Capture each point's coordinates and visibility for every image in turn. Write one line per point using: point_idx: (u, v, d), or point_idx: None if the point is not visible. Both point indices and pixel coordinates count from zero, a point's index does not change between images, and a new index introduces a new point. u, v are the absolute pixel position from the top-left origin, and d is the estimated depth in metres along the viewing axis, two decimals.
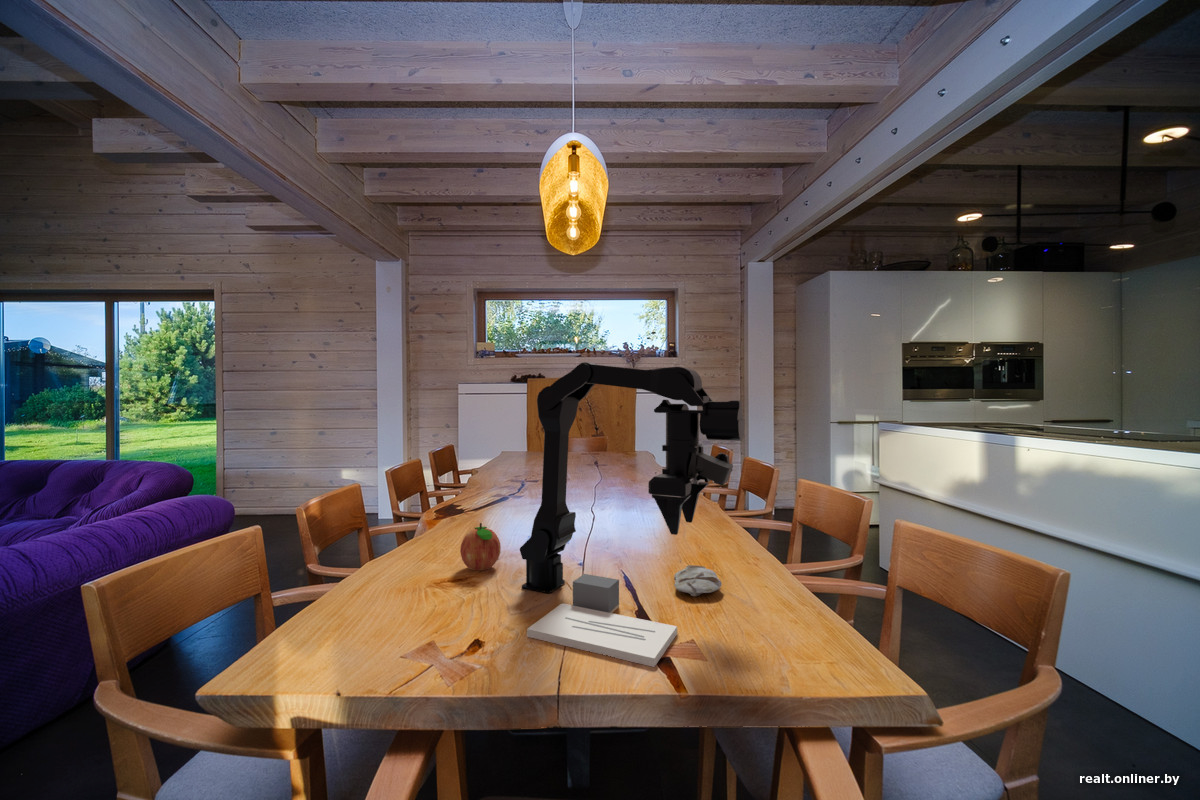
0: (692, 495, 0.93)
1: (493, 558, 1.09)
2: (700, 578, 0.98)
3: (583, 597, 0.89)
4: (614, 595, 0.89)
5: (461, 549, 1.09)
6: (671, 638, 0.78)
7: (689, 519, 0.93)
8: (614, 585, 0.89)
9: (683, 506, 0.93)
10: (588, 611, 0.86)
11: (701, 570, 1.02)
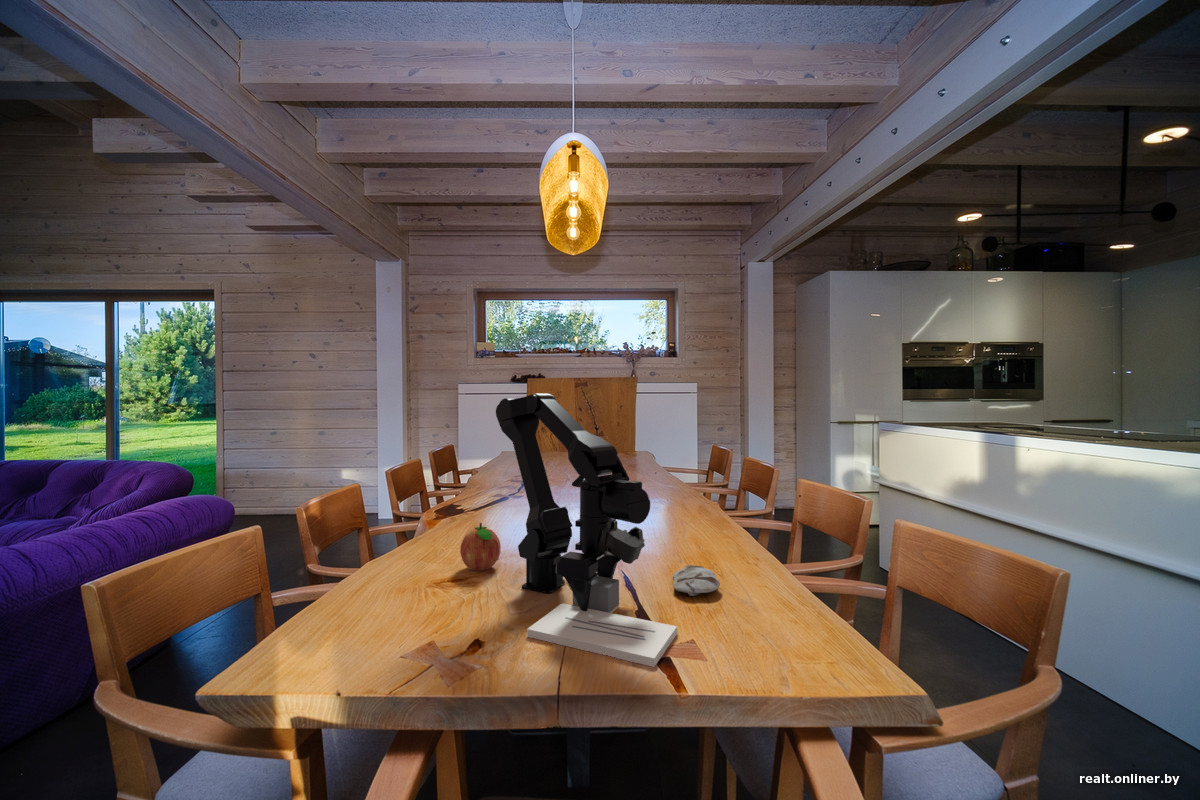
0: (608, 567, 0.94)
1: (493, 558, 1.09)
2: (698, 578, 0.98)
3: None
4: (614, 595, 0.89)
5: (461, 549, 1.09)
6: (671, 638, 0.78)
7: None
8: (614, 585, 0.89)
9: None
10: (588, 611, 0.86)
11: (700, 570, 1.02)
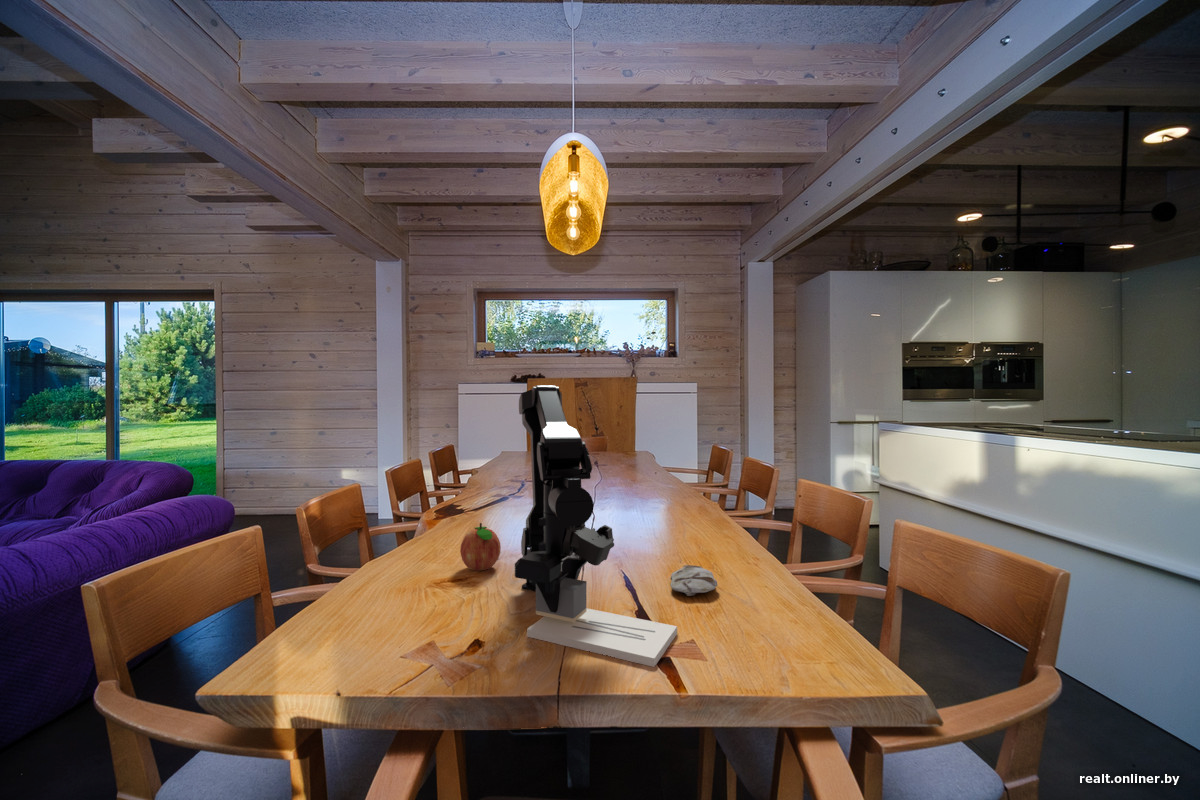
0: (572, 571, 0.85)
1: (493, 558, 1.09)
2: (696, 578, 0.98)
3: None
4: (580, 598, 0.82)
5: (461, 549, 1.09)
6: (671, 638, 0.78)
7: None
8: (580, 587, 0.82)
9: None
10: (588, 611, 0.86)
11: (698, 570, 1.03)
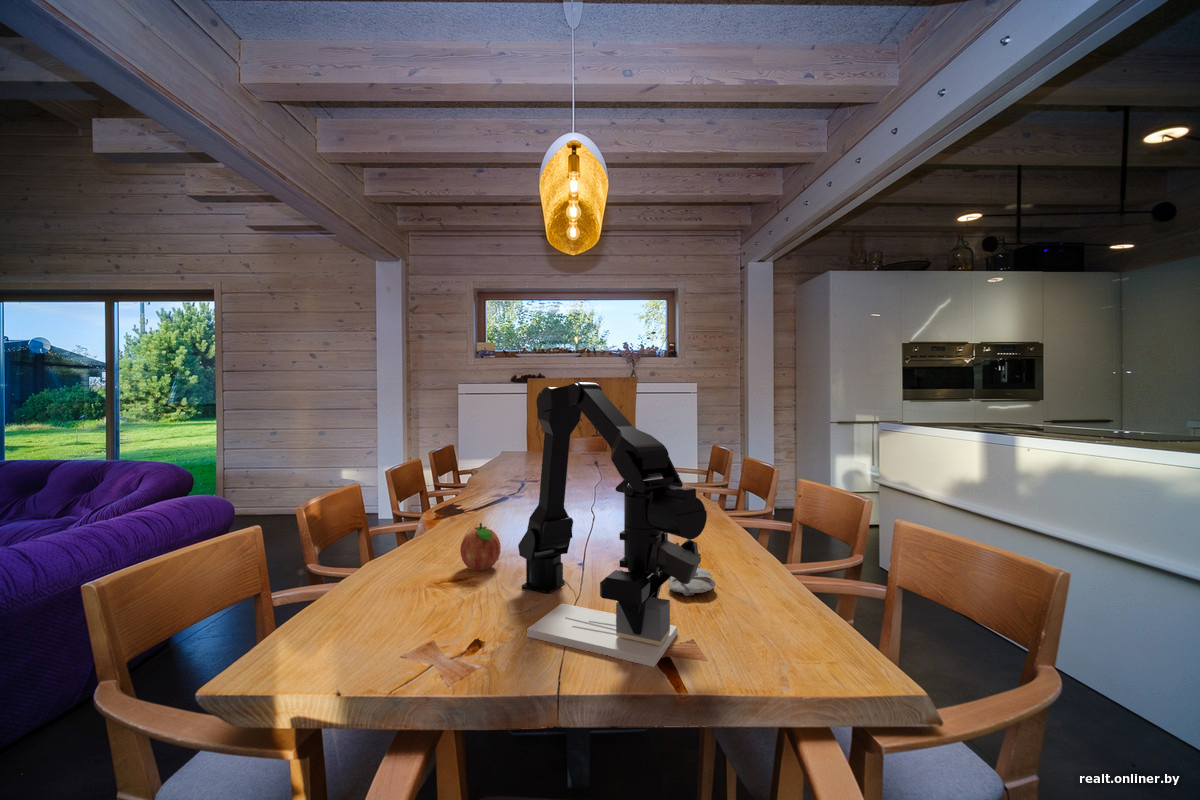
0: (652, 589, 0.79)
1: (493, 558, 1.09)
2: (694, 578, 0.98)
3: None
4: (665, 619, 0.76)
5: (461, 549, 1.09)
6: (671, 638, 0.78)
7: None
8: (665, 607, 0.76)
9: None
10: (588, 611, 0.86)
11: None
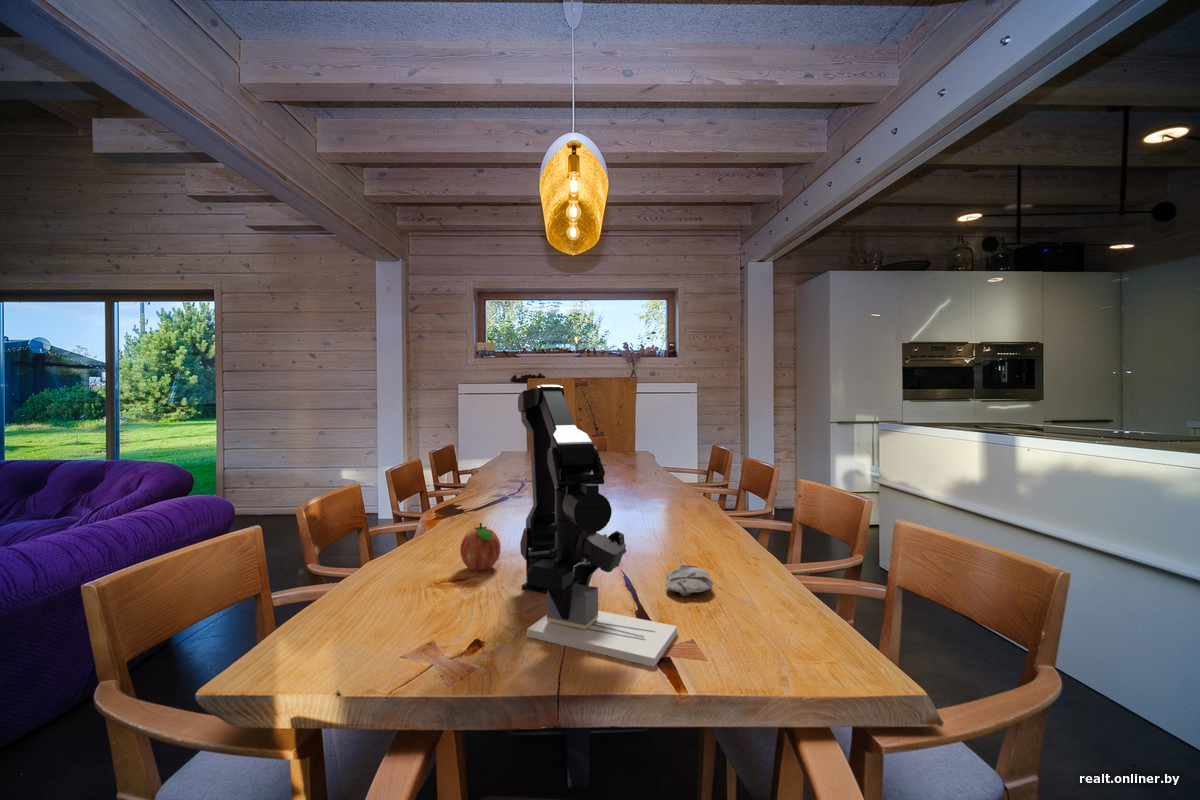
0: (583, 578, 0.84)
1: (493, 558, 1.09)
2: (691, 578, 0.98)
3: None
4: (592, 605, 0.81)
5: (461, 549, 1.09)
6: (671, 638, 0.78)
7: None
8: (592, 594, 0.81)
9: None
10: None
11: (693, 570, 1.03)
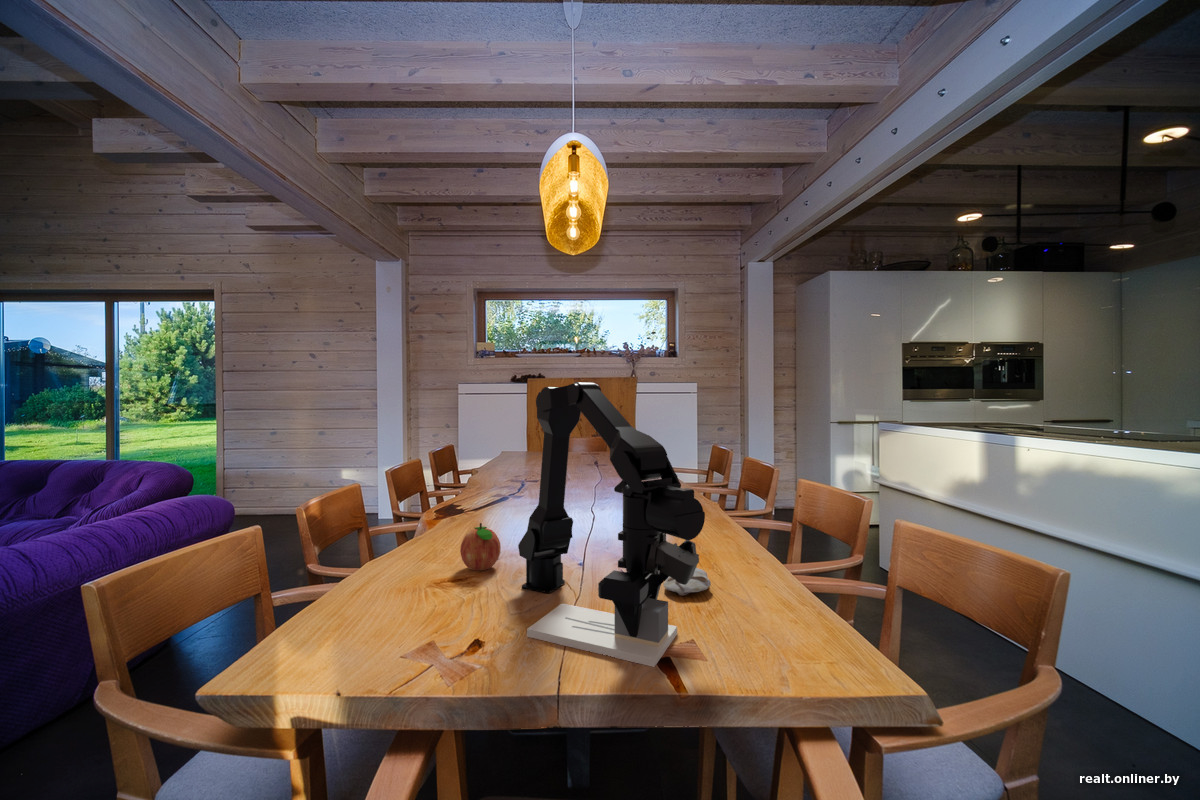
0: (652, 588, 0.80)
1: (493, 558, 1.09)
2: None
3: None
4: (664, 620, 0.76)
5: (461, 549, 1.09)
6: (671, 638, 0.78)
7: None
8: (664, 608, 0.76)
9: None
10: (588, 611, 0.86)
11: None
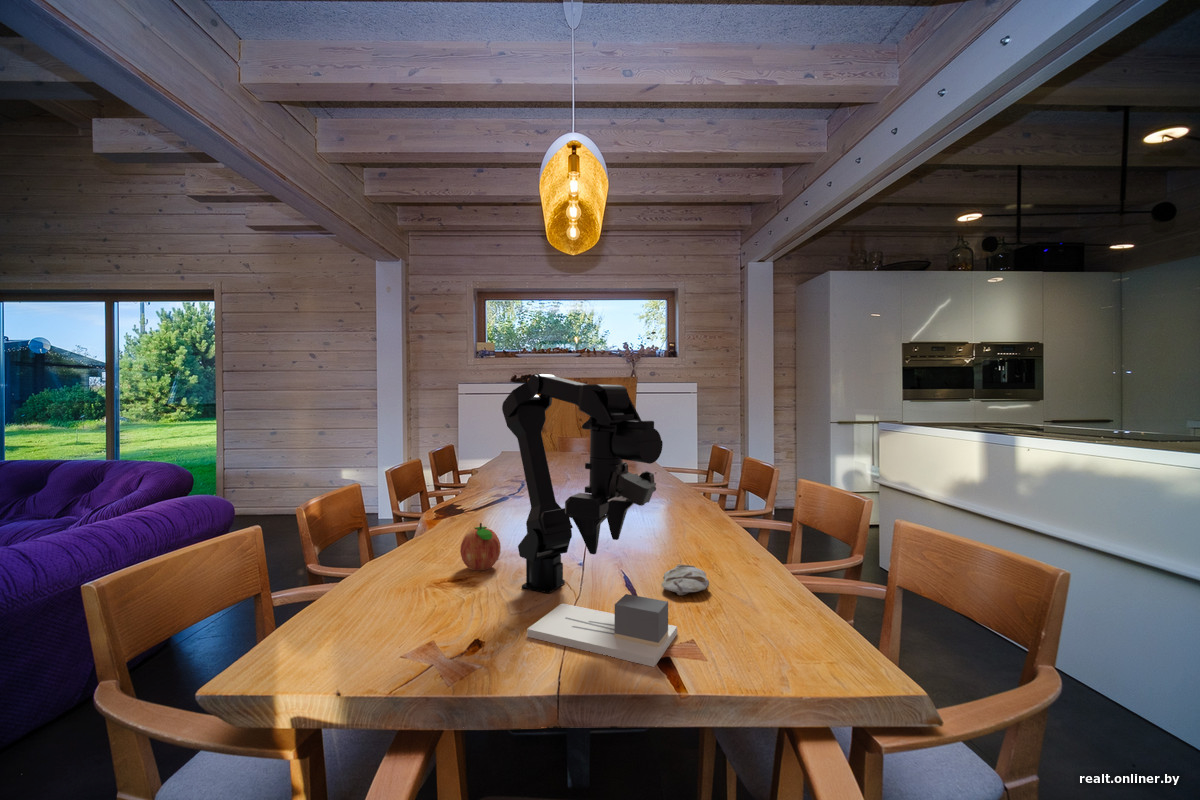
0: (619, 512, 0.92)
1: (493, 558, 1.09)
2: (687, 577, 0.98)
3: (628, 623, 0.76)
4: (664, 620, 0.76)
5: (461, 549, 1.09)
6: (671, 638, 0.78)
7: (615, 536, 0.92)
8: (664, 608, 0.76)
9: (610, 523, 0.93)
10: (588, 611, 0.86)
11: (690, 569, 1.03)
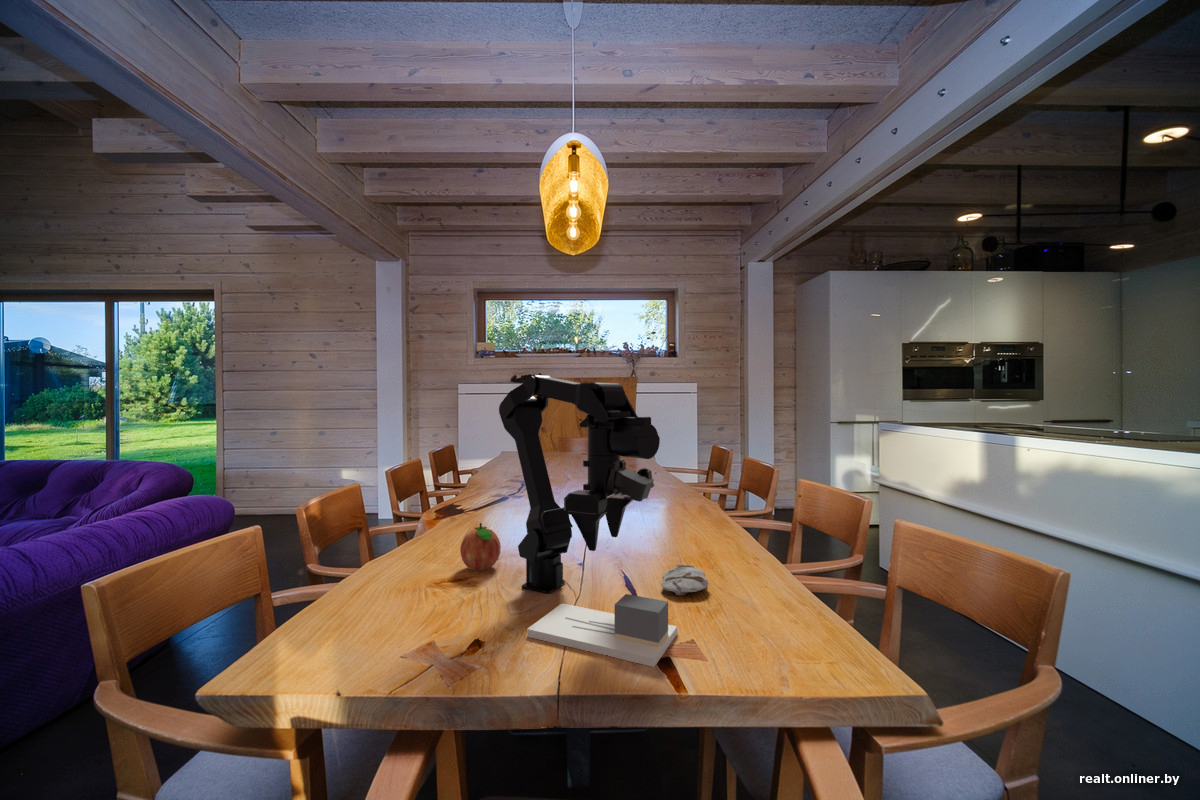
0: (617, 510, 0.93)
1: (493, 558, 1.09)
2: (686, 577, 0.98)
3: (628, 623, 0.76)
4: (664, 620, 0.76)
5: (461, 549, 1.09)
6: (671, 638, 0.78)
7: (614, 534, 0.93)
8: (664, 608, 0.76)
9: (609, 521, 0.93)
10: (588, 611, 0.86)
11: (689, 569, 1.03)
